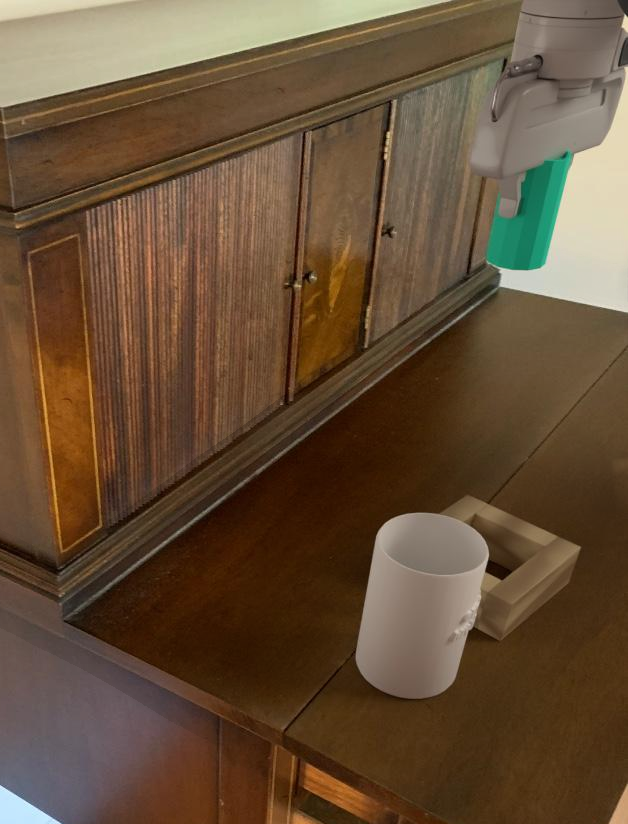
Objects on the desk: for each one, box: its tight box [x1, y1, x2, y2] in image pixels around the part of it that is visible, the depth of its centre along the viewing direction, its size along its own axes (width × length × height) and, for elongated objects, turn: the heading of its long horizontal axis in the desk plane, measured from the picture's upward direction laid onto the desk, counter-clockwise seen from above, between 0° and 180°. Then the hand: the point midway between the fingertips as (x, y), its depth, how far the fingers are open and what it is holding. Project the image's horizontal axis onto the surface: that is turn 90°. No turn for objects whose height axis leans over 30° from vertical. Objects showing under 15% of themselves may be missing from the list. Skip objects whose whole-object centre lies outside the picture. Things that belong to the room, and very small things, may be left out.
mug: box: [355, 512, 489, 700], centre depth 71 cm, size 8×12×12 cm
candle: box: [485, 150, 572, 272], centre depth 92 cm, size 6×6×12 cm
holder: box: [438, 494, 582, 642], centre depth 81 cm, size 11×11×4 cm
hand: (527, 209), depth 92 cm, fingers closed on candle, 5 cm apart
